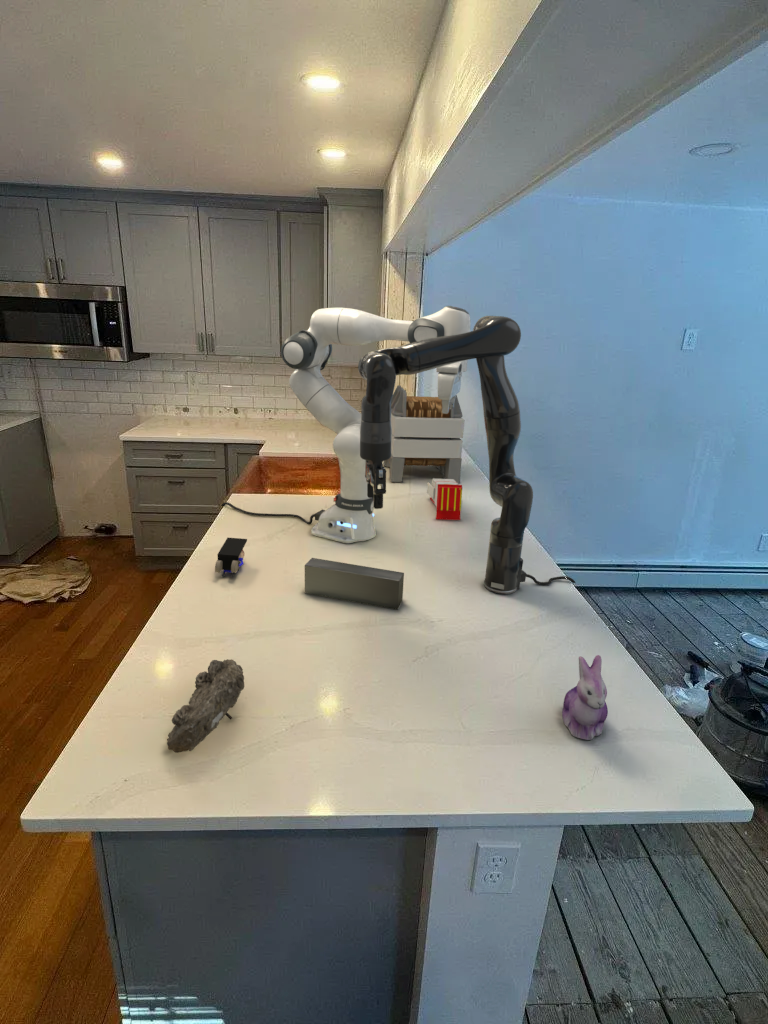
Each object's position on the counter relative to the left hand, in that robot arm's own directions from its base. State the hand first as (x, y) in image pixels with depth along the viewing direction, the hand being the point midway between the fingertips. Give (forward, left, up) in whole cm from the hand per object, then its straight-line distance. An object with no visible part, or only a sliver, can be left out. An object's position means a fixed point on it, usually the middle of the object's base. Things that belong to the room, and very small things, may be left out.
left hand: (448, 410), depth 173 cm
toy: (-5, +41, -46) cm, 62 cm away
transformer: (-25, +88, -46) cm, 102 cm away
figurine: (+44, -75, -46) cm, 98 cm away
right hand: (-9, -44, -17) cm, 48 cm away
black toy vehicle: (-54, -38, -46) cm, 81 cm away
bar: (-15, -41, -46) cm, 64 cm away
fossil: (-25, -96, -46) cm, 109 cm away
